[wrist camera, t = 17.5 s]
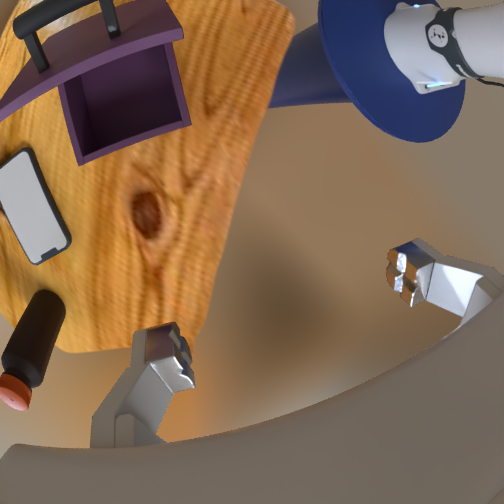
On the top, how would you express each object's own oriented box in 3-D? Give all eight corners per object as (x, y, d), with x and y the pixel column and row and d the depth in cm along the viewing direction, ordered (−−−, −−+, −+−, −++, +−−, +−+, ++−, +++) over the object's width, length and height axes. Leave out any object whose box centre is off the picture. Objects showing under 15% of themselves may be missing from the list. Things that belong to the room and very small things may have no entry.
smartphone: (-7, 174, 26) (36, 264, 33) (-12, 176, 24) (32, 268, 32) (32, 143, 27) (76, 241, 34) (27, 143, 25) (72, 245, 33)
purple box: (188, 125, 32) (191, 125, 25) (97, 157, 30) (78, 166, 24) (163, 21, 25) (161, -3, 18) (72, 54, 23) (50, 41, 16)
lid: (184, 38, 11) (172, -47, 6) (-5, 126, 10) (-42, 64, 5) (162, -1, 18) (155, -43, 13) (50, 42, 16) (36, 4, 11)
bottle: (33, 315, 37) (-3, 404, 19) (32, 284, 34) (-17, 373, 17) (66, 325, 39) (38, 421, 22) (67, 295, 37) (29, 393, 20)
